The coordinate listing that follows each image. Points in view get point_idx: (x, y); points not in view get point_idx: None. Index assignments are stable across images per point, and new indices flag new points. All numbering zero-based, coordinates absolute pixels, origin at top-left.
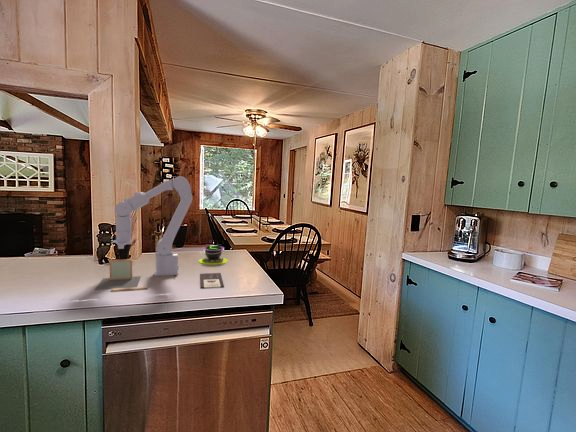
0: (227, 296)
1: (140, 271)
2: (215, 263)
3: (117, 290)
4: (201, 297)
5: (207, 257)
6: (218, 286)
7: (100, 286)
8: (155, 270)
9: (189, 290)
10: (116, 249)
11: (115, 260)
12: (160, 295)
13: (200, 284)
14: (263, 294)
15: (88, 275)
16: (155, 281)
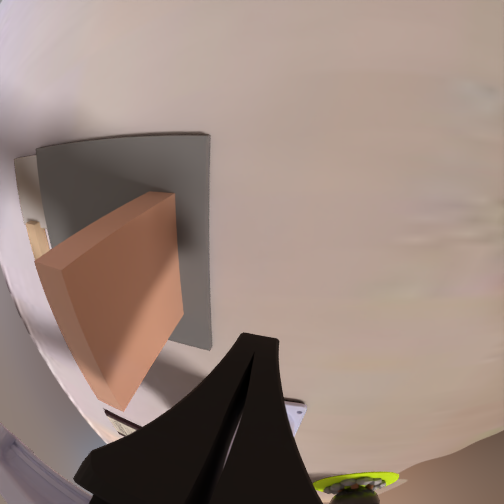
0: (79, 409)
1: (343, 355)
2: (321, 485)
3: (32, 243)
4: (64, 385)
5: (354, 491)
6: (116, 429)
7: (63, 162)
8: (300, 407)
9: (90, 392)
10: (104, 447)
11: (54, 311)
12: (49, 338)
13: (121, 420)
14: (99, 435)
15: (363, 19)
16: (149, 370)
